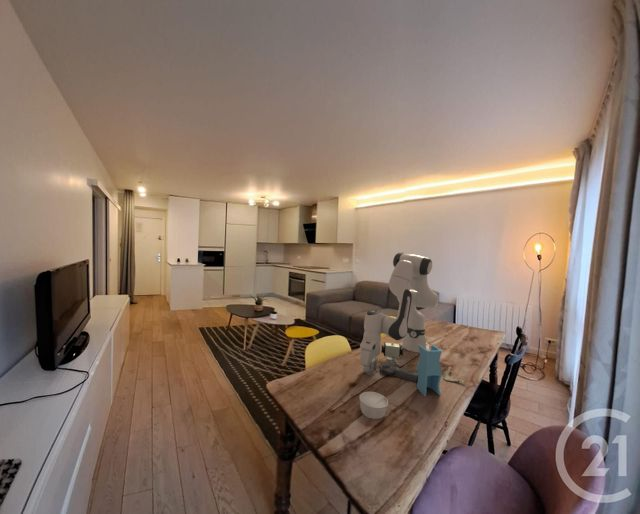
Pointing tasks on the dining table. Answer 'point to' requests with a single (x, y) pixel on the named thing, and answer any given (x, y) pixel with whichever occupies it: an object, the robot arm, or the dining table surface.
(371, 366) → the beige rectangular block
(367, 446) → the dining table surface
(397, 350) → the pneumatic valve
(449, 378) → the jawbone
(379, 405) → the ramekin
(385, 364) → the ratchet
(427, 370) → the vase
